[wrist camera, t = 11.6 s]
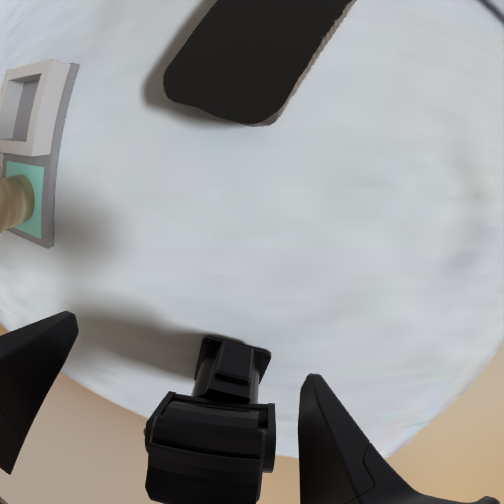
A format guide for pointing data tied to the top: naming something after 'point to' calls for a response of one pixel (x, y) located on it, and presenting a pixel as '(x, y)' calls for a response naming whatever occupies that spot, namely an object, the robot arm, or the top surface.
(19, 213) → the maple post
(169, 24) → the top surface
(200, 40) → the black sponge
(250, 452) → the robot arm
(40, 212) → the jig board
